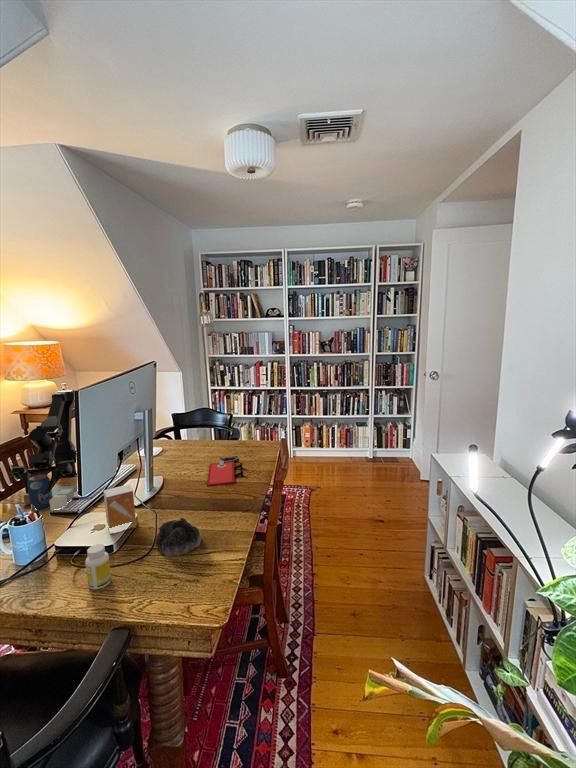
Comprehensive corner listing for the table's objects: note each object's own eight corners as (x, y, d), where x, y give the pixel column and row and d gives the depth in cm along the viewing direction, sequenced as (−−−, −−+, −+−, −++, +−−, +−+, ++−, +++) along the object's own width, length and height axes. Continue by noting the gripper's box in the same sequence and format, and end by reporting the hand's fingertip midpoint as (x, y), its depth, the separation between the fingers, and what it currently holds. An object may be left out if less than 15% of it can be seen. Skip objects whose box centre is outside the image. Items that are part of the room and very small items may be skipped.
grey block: (63, 499, 143) (62, 489, 143) (74, 498, 144) (72, 488, 143) (58, 504, 139) (56, 494, 139) (69, 503, 140) (67, 493, 139)
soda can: (44, 512, 133) (40, 480, 132) (26, 512, 134) (21, 480, 132) (57, 502, 140) (53, 472, 138) (40, 502, 141) (35, 472, 139)
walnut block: (31, 500, 143) (29, 490, 143) (42, 499, 144) (40, 489, 143) (24, 505, 140) (23, 495, 139) (36, 504, 140) (34, 494, 139)
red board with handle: (241, 457, 183) (210, 460, 181) (241, 452, 182) (210, 455, 180) (244, 484, 154) (207, 488, 151) (243, 477, 153) (206, 481, 151)
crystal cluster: (170, 532, 119) (163, 505, 117) (209, 532, 117) (204, 504, 115) (149, 562, 107) (142, 532, 104) (193, 561, 104) (186, 531, 102)
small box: (110, 535, 117) (105, 497, 115) (107, 527, 122) (102, 490, 120) (137, 527, 122) (133, 490, 119) (133, 519, 127) (129, 483, 125)
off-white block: (56, 505, 138) (55, 495, 138) (67, 504, 139) (66, 494, 138) (50, 510, 135) (49, 500, 134) (62, 510, 135) (60, 499, 134)
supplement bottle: (115, 575, 99) (111, 541, 97) (106, 589, 93) (101, 554, 92) (94, 576, 98) (90, 542, 97) (84, 591, 93) (79, 555, 91)
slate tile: (55, 489, 152) (54, 487, 152) (77, 488, 153) (77, 485, 153) (42, 499, 143) (42, 497, 143) (66, 498, 144) (66, 495, 144)
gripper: (9, 446, 135) (-2, 487, 126) (66, 441, 139) (59, 480, 130) (21, 459, 144) (12, 498, 135) (75, 454, 148) (69, 491, 139)
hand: (38, 492), depth 135 cm, fingers closed on soda can, 7 cm apart
